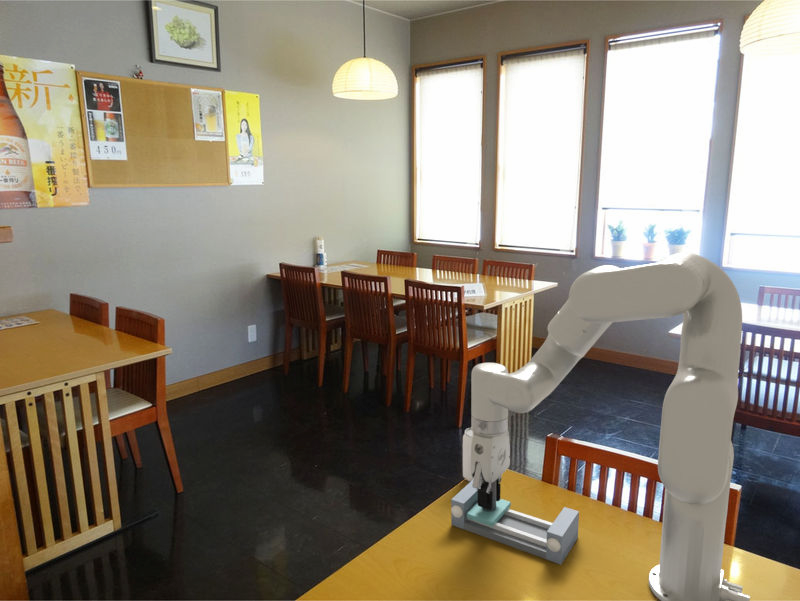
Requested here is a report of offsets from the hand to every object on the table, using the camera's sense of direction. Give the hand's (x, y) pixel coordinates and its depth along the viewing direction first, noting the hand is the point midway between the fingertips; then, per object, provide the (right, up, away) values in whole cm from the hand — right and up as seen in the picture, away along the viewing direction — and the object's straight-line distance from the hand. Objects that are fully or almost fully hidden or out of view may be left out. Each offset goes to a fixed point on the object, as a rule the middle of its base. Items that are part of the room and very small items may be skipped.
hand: (489, 502), depth 121 cm
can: (0, -1, +20) cm, 20 cm away
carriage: (0, -2, 0) cm, 2 cm away
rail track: (+5, -5, -2) cm, 7 cm away
